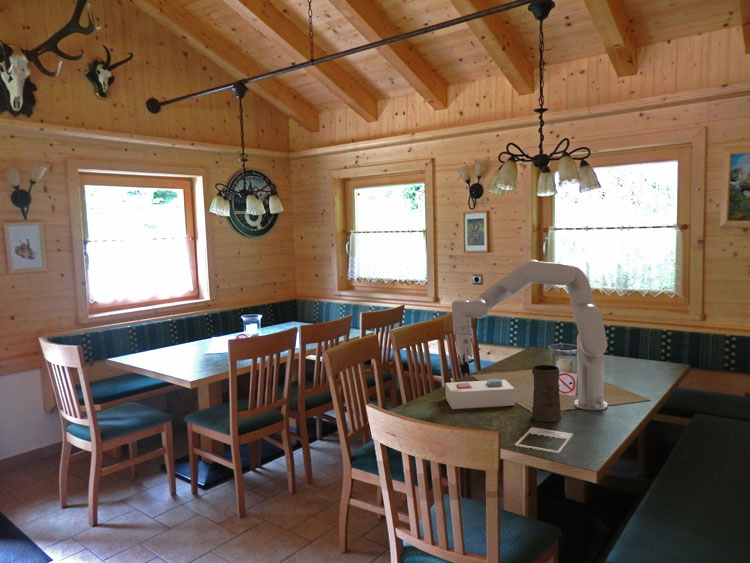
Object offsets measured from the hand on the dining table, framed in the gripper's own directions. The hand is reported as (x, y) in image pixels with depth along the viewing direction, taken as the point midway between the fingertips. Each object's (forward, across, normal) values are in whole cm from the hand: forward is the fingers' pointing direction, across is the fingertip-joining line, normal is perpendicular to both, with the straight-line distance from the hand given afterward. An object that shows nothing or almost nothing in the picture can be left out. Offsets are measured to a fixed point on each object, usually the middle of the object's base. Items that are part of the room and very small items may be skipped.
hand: (465, 372), depth 236 cm
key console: (+13, 0, -5) cm, 14 cm away
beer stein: (+14, -21, -25) cm, 36 cm away
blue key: (+8, 0, -12) cm, 15 cm away
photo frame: (+14, -45, -17) cm, 50 cm away
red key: (+9, 0, +1) cm, 9 cm away
